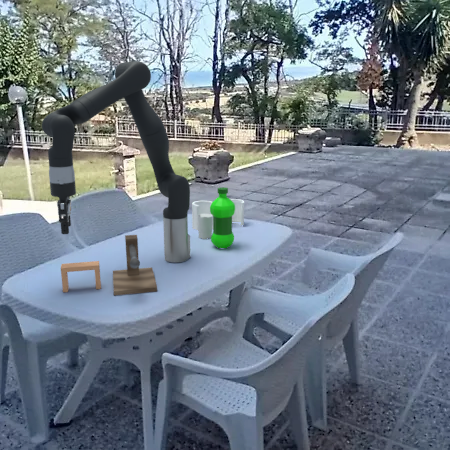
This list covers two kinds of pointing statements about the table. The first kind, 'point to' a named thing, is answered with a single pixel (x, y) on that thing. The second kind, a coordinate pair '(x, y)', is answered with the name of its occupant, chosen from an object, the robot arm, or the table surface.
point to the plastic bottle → (222, 219)
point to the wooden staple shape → (80, 267)
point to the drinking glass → (205, 225)
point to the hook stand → (133, 272)
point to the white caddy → (204, 208)
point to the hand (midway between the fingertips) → (66, 229)
